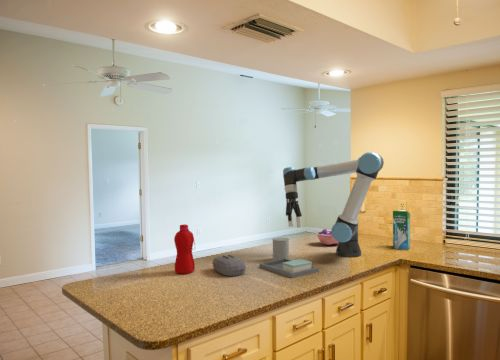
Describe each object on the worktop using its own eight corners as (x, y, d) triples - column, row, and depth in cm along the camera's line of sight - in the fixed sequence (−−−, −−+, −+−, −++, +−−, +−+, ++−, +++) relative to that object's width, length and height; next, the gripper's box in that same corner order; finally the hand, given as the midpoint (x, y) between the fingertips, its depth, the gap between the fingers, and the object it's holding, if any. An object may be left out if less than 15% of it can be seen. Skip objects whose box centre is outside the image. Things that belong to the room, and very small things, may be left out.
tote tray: (259, 269, 203) (259, 263, 202) (285, 263, 213) (284, 258, 213) (291, 279, 181) (291, 273, 181) (318, 273, 192) (318, 267, 192)
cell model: (347, 247, 256) (347, 230, 255) (318, 247, 256) (317, 230, 255) (342, 242, 272) (341, 226, 272) (314, 242, 273) (313, 227, 272)
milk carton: (410, 247, 251) (410, 209, 250) (407, 249, 243) (407, 211, 243) (395, 246, 256) (395, 209, 255) (393, 248, 248) (392, 210, 247)
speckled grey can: (278, 262, 216) (277, 241, 215) (269, 259, 224) (269, 238, 224) (292, 260, 220) (292, 239, 220) (283, 257, 229) (283, 237, 228)
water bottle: (191, 275, 192) (190, 226, 192) (172, 273, 196) (171, 225, 195) (199, 270, 201) (198, 223, 200) (181, 269, 205) (180, 223, 204)
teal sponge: (282, 272, 191) (282, 262, 191) (300, 268, 198) (300, 258, 198) (293, 276, 184) (293, 265, 184) (312, 271, 192) (311, 261, 191)
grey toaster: (209, 270, 203) (224, 279, 185) (208, 254, 203) (224, 262, 185) (234, 266, 210) (251, 274, 193) (234, 251, 210) (251, 258, 192)
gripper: (293, 195, 245) (296, 228, 241) (277, 191, 223) (281, 227, 219) (304, 193, 242) (308, 226, 238) (289, 189, 220) (293, 225, 216)
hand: (295, 227), depth 228 cm, fingers open, 13 cm apart
